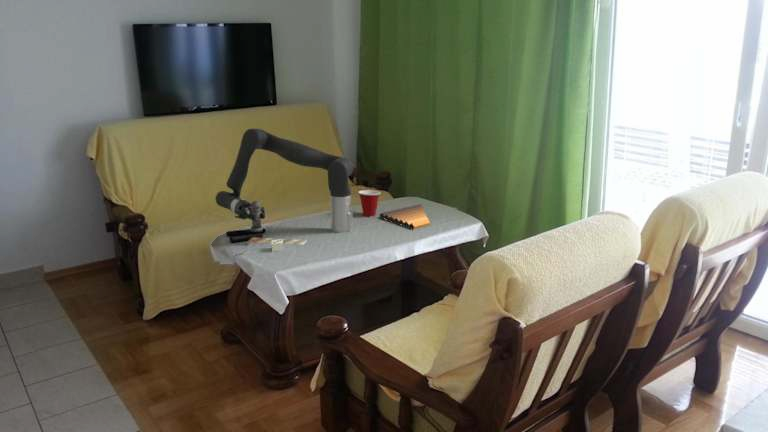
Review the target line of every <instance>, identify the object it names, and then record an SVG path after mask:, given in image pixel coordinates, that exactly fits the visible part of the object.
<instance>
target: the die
mask: <svg viewBox="0 0 768 432" xmlns="http://www.w3.org/2000/svg"><path fill="white" fill-rule="evenodd" d="M281 239H282V240H272V243H271V250H272V252H284V244H283V239H284V238H281Z"/></svg>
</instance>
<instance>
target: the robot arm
mask: <svg viewBox="0 0 768 432" xmlns="http://www.w3.org/2000/svg"><path fill="white" fill-rule="evenodd" d="M239 145H240V146H239V150H238V153H237V156H236V159H235V163H234V165H233V167H232V168H231V172H230V174H229V177H227V178H228V179H227V181H226V186H227V188H228V189H231V190H232V192H229V191H225V190H221V191H219V192H217V193H216V195H215V203H216V204H217V206H219V207H222V208H224V209H227V210H229V211H230V212H232V213H233V214H234V217H235V218H236V219H240V220H251V221H252V220H253V221H255V215H253V214H252V211H251V203H252V202H249V201H248V200H246V199H244V198H241V191H242V187H243V186H244V183H245V181H246V178H247V176H248V172H249V166H250V162H251V158H252V156H253V155H254V153H255V151H256V150H262V151H263V150H264V151H268V152H271V153H273V154H276V155H277V156H278V157H281V158H282V159H284V160H285V161H287V162H290V163H293V164H296V165H298V166H302V167H306V168H307V167H308V168H315V169H323V170H325V171H327V183H328V185H327V186H328V190H329V193H330V194H329V198H330V199H329V200H330V229H331V232H334V233H341V234H342V233H350V232H351V231H353V229H354V227H353V225H354V223H353V222H354V221H353V216H354V215H353V209H352V189H351V188H350V187H349V186H350V185H349V177H350V176H351V175H352V174H353V172H354V165H353V163H352V161H350V160H349V159H348V158H346V157H343V156H338V155H334V154H329V153H326V152H323V151H321V150H318V149H316V148H314V147H313V148H312V147H310V146H308V145H306V144H303V143H300V142H297V141H293V140H289V139H287V138H281V137H278V136H276V135H274V134H272V133H269V132H267V131H266V130H264V129H262V128H248V129H247V130H245V132H243V135H242V139H241V142H240V144H239ZM260 208H261V210H260V216H261V220H264V219H265V218H266V212H265V207H264V206H260Z"/></svg>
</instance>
